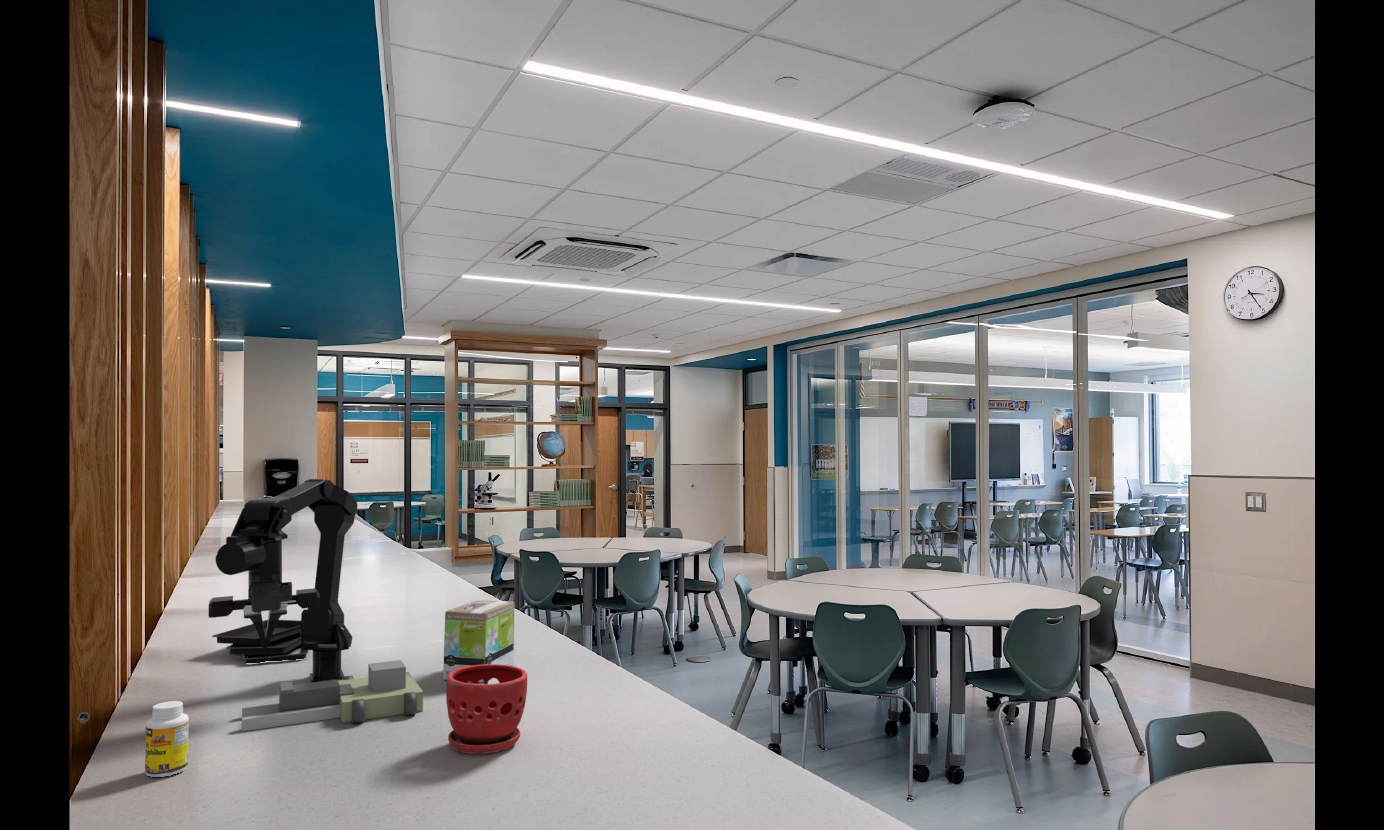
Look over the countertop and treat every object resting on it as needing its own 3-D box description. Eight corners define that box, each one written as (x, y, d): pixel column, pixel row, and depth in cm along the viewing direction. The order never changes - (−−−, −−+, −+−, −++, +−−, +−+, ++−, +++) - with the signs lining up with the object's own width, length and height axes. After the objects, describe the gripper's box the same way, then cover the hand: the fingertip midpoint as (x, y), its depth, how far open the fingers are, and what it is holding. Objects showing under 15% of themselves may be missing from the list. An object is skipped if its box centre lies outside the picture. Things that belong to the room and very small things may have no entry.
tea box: (486, 683, 176) (486, 612, 176) (441, 681, 178) (442, 610, 178) (515, 665, 191) (515, 599, 191) (474, 663, 193) (474, 598, 193)
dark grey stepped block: (278, 713, 156) (279, 682, 156) (336, 705, 160) (337, 675, 161) (279, 722, 151) (280, 690, 151) (339, 713, 155) (340, 683, 155)
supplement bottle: (135, 776, 126) (137, 708, 127) (168, 763, 131) (170, 697, 132) (164, 781, 125) (165, 711, 125) (196, 767, 130) (197, 700, 130)
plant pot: (451, 764, 130) (452, 686, 131) (441, 738, 142) (441, 667, 143) (535, 752, 136) (535, 677, 136) (518, 727, 148) (518, 659, 148)
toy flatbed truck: (242, 707, 160) (242, 667, 160) (406, 685, 174) (406, 648, 174) (241, 742, 141) (242, 696, 141) (425, 715, 155) (426, 673, 155)
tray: (329, 658, 199) (329, 635, 199) (217, 673, 186) (217, 649, 186) (308, 635, 224) (308, 615, 224) (207, 646, 211) (208, 625, 211)
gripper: (207, 576, 148) (207, 665, 148) (322, 567, 157) (322, 650, 157) (209, 567, 158) (209, 650, 158) (317, 559, 167) (317, 637, 167)
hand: (265, 647), depth 160 cm, fingers closed
